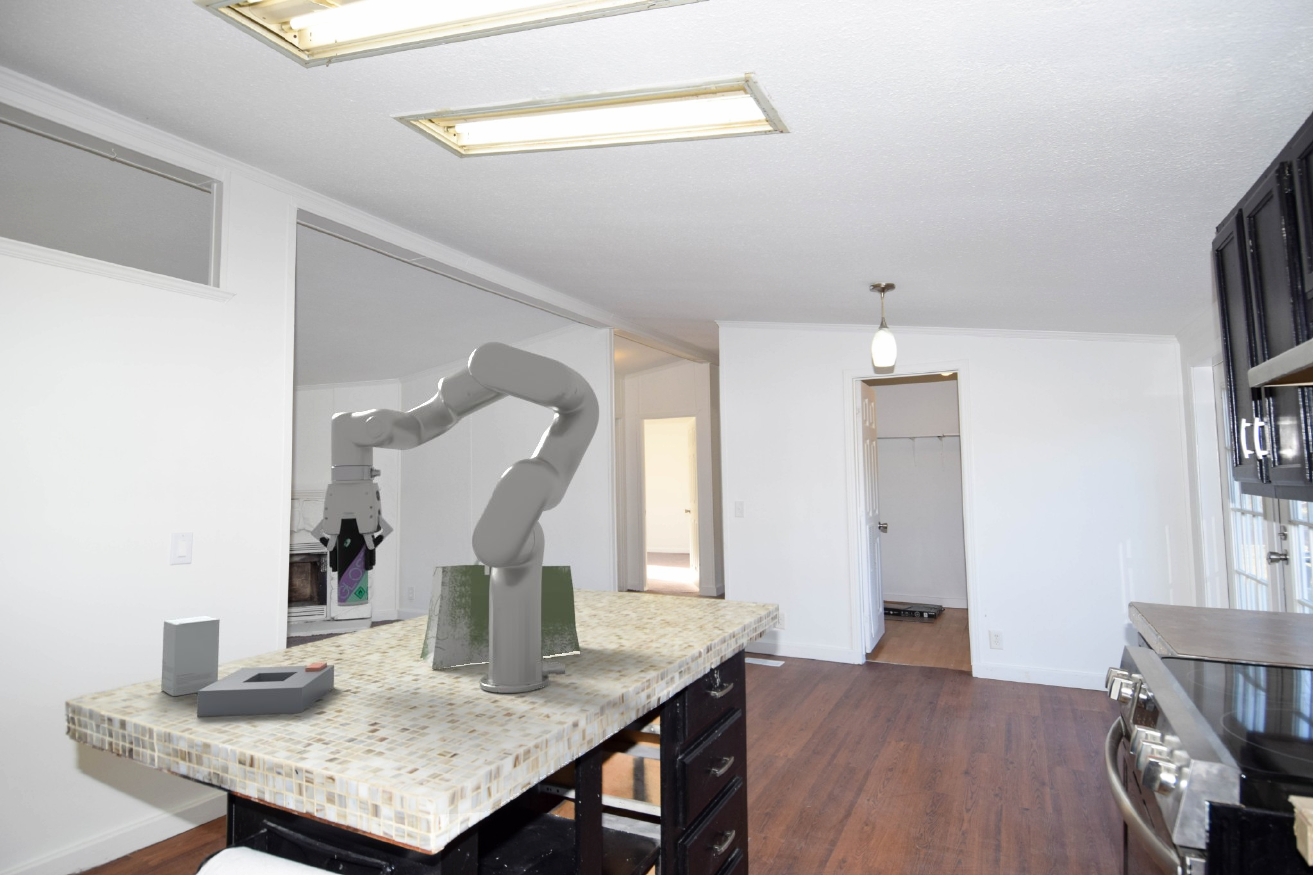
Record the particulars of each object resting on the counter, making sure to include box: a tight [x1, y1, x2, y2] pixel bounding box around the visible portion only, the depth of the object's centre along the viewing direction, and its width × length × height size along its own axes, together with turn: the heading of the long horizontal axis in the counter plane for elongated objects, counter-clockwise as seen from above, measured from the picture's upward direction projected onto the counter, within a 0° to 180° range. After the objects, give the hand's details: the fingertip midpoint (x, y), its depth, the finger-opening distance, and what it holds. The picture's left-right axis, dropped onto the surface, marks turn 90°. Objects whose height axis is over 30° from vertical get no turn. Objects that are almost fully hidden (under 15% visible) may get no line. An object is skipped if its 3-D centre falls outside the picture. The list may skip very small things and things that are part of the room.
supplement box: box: [160, 615, 221, 697], centre depth 137 cm, size 7×7×13 cm
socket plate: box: [196, 661, 335, 717], centre depth 129 cm, size 16×16×5 cm
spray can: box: [336, 512, 369, 607], centre depth 144 cm, size 6×6×20 cm
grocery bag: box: [419, 557, 581, 670], centre depth 163 cm, size 32×14×23 cm, turn 115°
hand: (352, 569), depth 144 cm, fingers closed on spray can, 5 cm apart
